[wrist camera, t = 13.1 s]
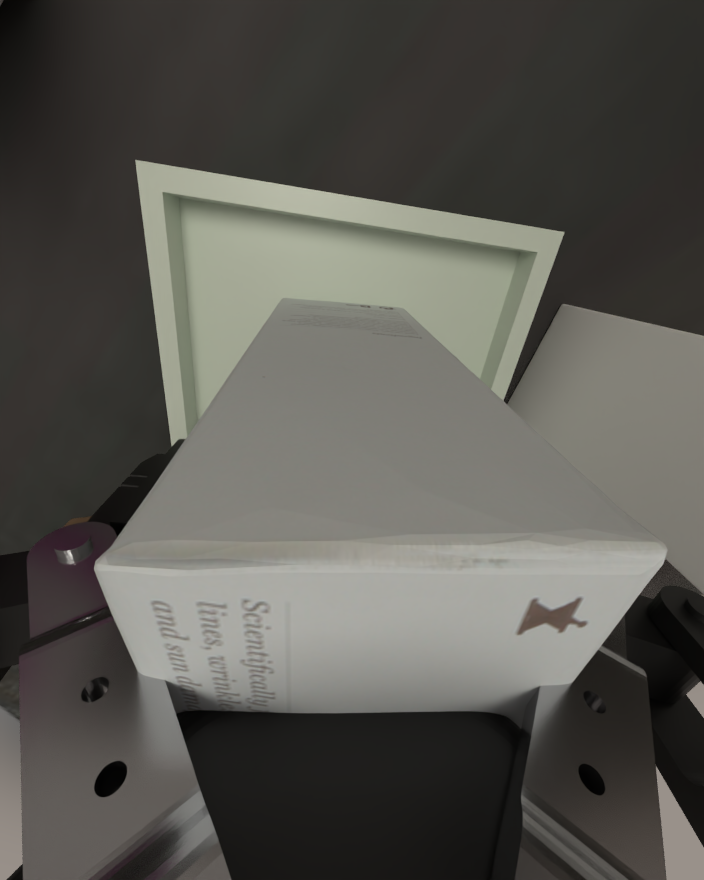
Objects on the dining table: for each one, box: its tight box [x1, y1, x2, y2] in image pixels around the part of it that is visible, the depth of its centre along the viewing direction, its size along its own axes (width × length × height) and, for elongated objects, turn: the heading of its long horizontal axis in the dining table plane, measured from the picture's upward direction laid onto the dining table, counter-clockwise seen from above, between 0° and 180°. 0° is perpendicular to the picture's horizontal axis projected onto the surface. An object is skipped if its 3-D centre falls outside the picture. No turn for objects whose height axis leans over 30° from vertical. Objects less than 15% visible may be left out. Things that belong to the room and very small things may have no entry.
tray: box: [135, 160, 564, 446], centre depth 18 cm, size 16×16×2 cm
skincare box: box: [94, 298, 668, 728], centre depth 11 cm, size 8×6×15 cm
